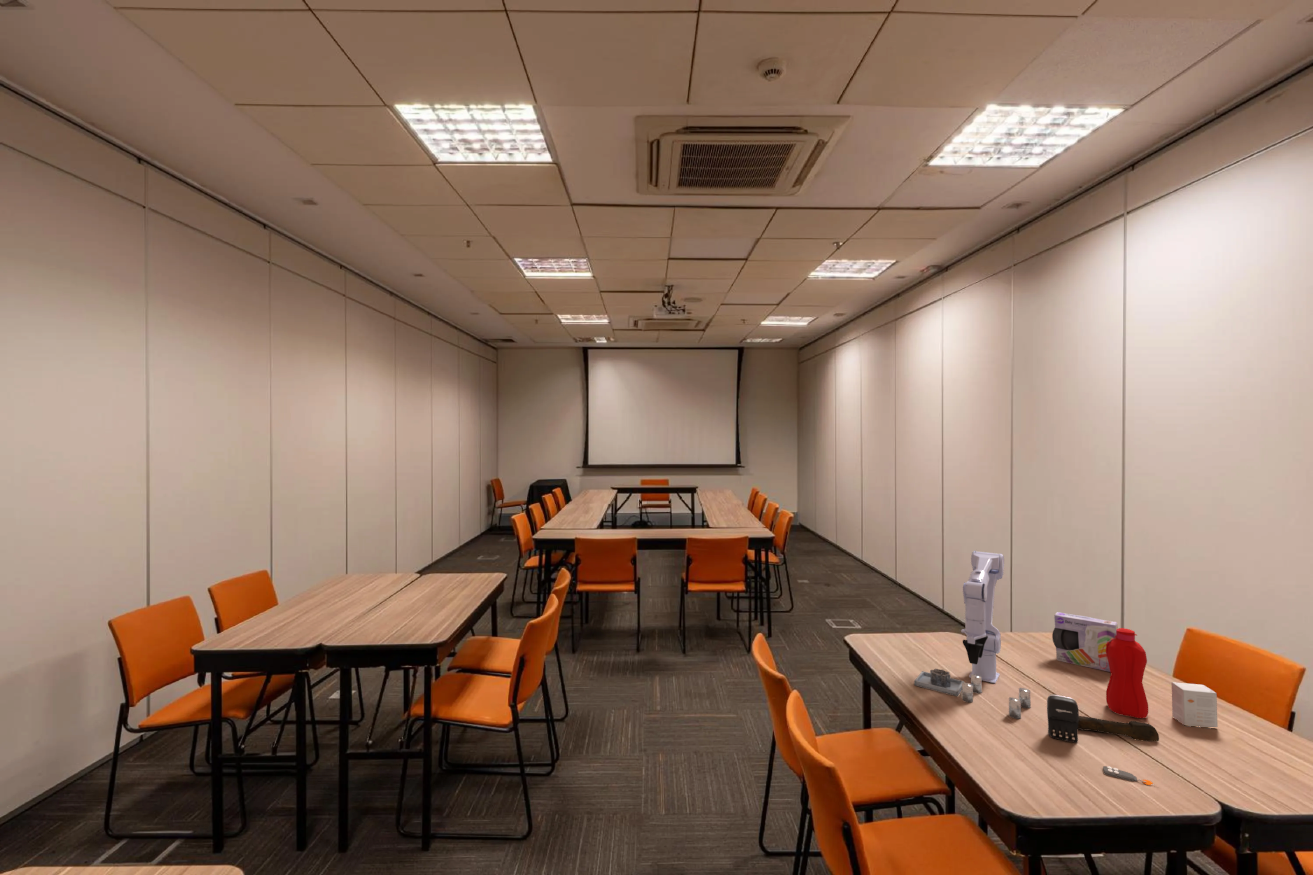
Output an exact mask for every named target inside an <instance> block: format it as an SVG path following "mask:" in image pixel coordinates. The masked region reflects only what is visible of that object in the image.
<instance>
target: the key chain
mask: <svg viewBox="0 0 1313 875" xmlns="http://www.w3.org/2000/svg"><path fill="white" fill-rule="evenodd" d="M1102 772H1103V774H1104V775H1106V776H1109V777H1112V778H1117V779H1121V780H1124V781H1129V782H1132V783H1133V782H1134V783H1135V782H1141V783H1142V784H1143V785H1145V784H1146V786H1148V785H1151V784H1153V785H1154V783H1153V782H1152V781H1151V780H1148V779H1138V777H1137V776H1135V775H1134V774H1133V773H1132V772H1128V771H1124V770H1121V769H1119V768H1117V767H1111V766H1107V765H1105V766H1102Z"/></svg>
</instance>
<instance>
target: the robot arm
mask: <svg viewBox="0 0 1313 875" xmlns="http://www.w3.org/2000/svg"><path fill="white" fill-rule="evenodd" d="M970 555H971V557H970V561H971V562H970V563H971V568H972V571H971V572H970V574H969V577H968V579H967V581H966V582H963V586H962V595H963V602H964V603H963V604H964V605H965V606H964V608H965V611H964V612H965V613H964V614H965V615H964V616H965V620H964V621H965V622H964V623H965V628H962V629H961V630H960V631H961V633H963V634H965V636H966V639H962V645H963V646H964V649H965V651H966V654H967V657H968V659H967V660H968V662H969V663H970V664H971V672H970V673H969V675H968V678H970V679H971V675H972V674H976V675H980V676H981V677H982V681H983V682H987V683H991V684H996V683H997V682H998V679H999V677H1000V673H999V672H997V655H998V654H999V653H1000V652H1001V647H1002V646H1001V645H1002V640H1001V632H1000V630H999V629H998V628H997V627H996V626H994V625H993V618H994V617H993V616H994V604H995V593H996V585H997V581H998V580H1001V579H1003V576H1004V574H1005V573H1004V571H1005V570H1004V569H1005V556H1004V555H1003V553H996V552H987V551H977V550H973V551H972V552H971V554H970Z"/></svg>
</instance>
